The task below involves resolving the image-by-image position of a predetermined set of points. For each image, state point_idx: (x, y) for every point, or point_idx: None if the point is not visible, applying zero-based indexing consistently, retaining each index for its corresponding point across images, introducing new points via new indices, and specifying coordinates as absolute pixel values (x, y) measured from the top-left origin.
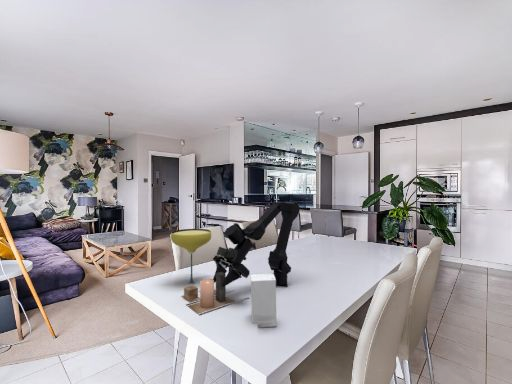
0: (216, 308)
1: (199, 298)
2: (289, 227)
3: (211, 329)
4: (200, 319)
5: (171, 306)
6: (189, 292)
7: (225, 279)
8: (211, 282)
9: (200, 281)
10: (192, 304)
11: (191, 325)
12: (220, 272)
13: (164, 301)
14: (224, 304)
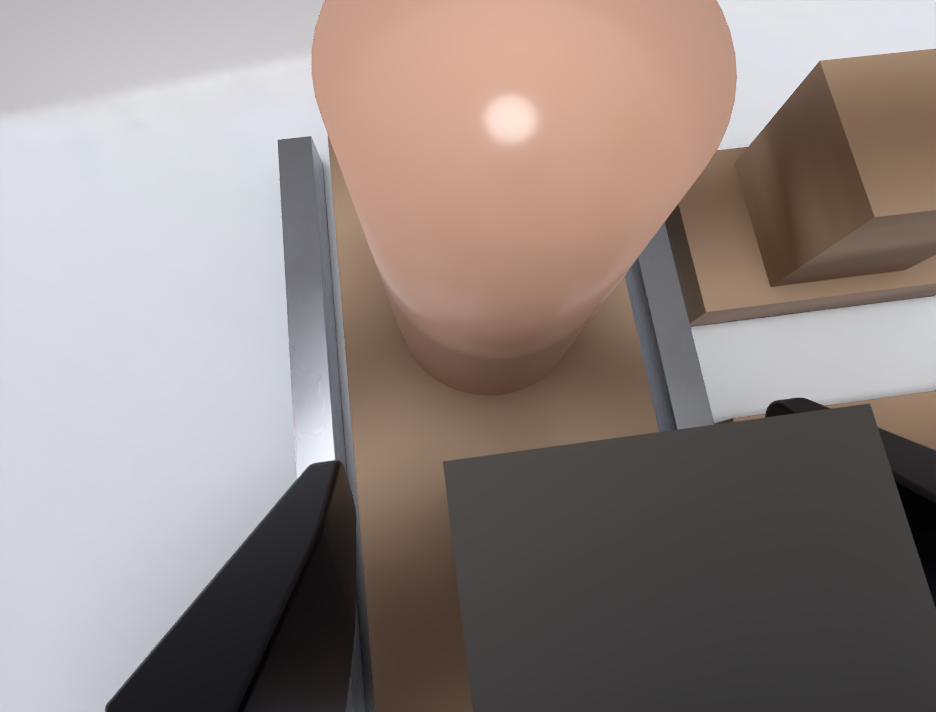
0: (323, 369)
1: (740, 296)
2: None
3: (39, 193)
4: None
5: (741, 36)
6: (799, 102)
7: (201, 628)
8: (321, 104)
9: None
10: None
11: (236, 75)
12: (887, 706)
13: (902, 12)
14: (367, 518)
